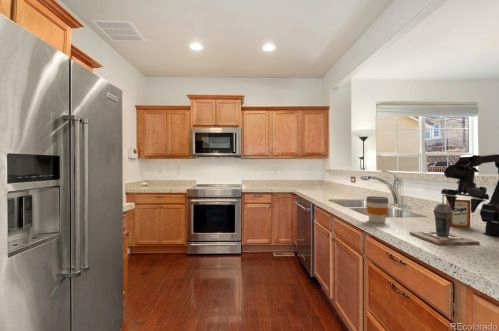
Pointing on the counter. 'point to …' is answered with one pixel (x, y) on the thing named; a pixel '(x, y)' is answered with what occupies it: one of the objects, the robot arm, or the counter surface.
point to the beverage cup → (442, 219)
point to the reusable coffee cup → (377, 208)
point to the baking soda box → (460, 213)
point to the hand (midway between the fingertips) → (462, 211)
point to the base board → (451, 240)
